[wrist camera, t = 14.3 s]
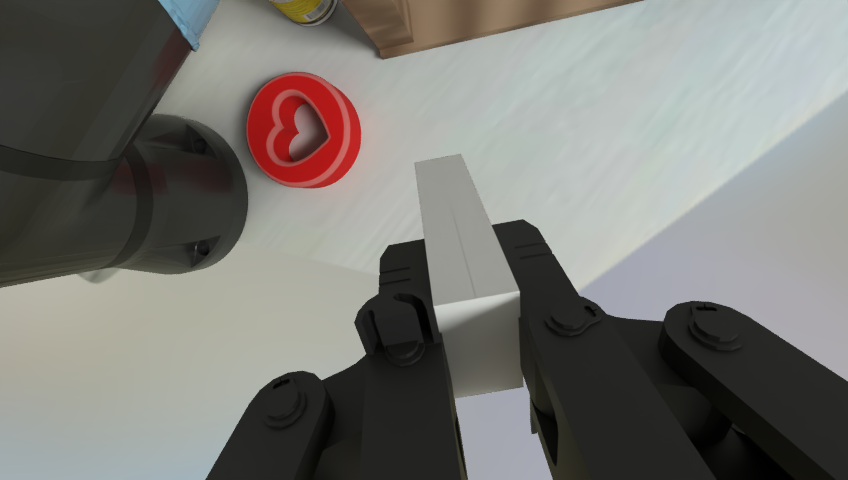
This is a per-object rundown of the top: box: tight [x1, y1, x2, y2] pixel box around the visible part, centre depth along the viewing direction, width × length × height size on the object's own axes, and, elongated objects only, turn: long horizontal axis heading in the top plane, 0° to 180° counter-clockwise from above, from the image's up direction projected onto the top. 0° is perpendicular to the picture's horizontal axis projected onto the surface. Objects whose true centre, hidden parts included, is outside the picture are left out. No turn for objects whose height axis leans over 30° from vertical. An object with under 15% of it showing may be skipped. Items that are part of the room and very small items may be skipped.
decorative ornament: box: [246, 72, 361, 188], centre depth 33 cm, size 10×10×3 cm
